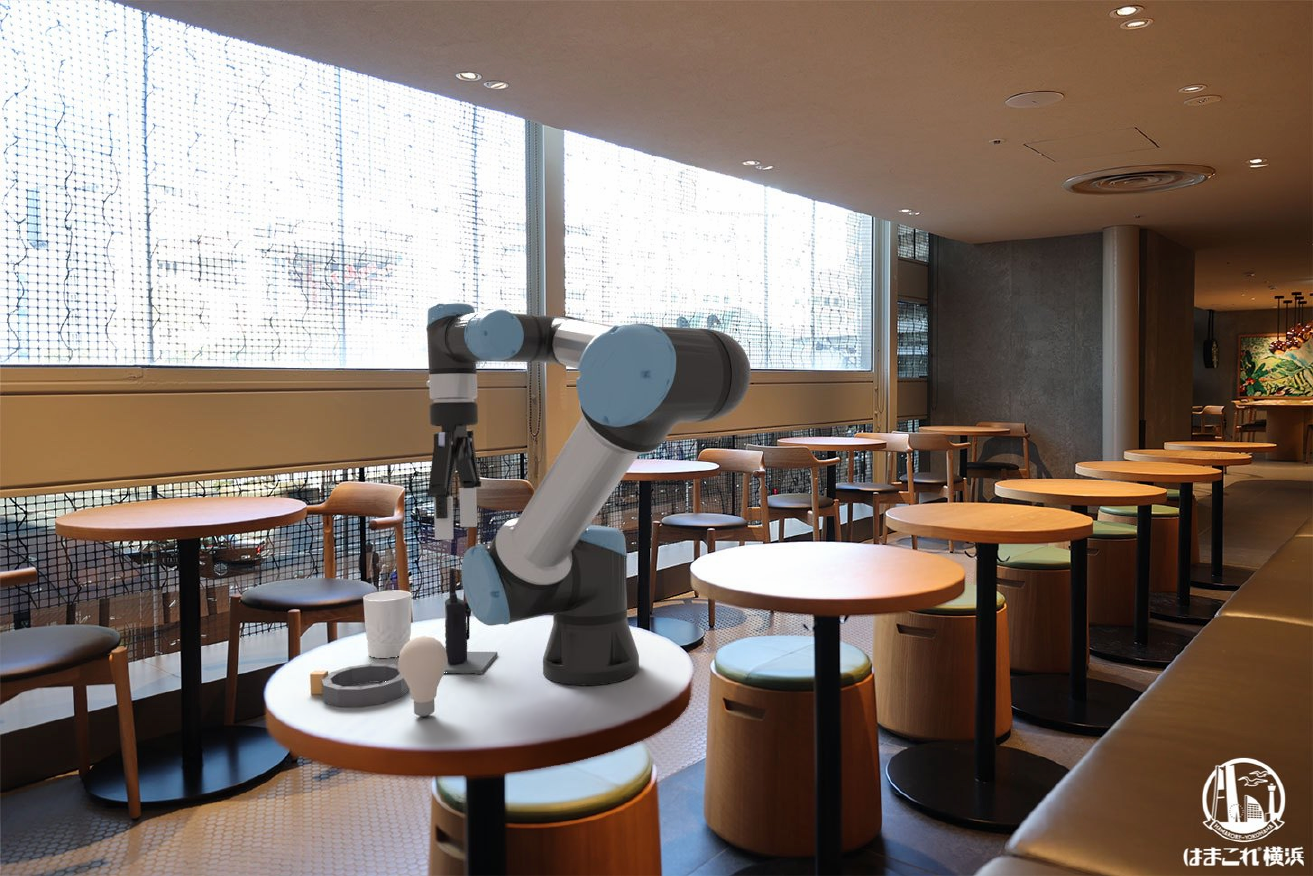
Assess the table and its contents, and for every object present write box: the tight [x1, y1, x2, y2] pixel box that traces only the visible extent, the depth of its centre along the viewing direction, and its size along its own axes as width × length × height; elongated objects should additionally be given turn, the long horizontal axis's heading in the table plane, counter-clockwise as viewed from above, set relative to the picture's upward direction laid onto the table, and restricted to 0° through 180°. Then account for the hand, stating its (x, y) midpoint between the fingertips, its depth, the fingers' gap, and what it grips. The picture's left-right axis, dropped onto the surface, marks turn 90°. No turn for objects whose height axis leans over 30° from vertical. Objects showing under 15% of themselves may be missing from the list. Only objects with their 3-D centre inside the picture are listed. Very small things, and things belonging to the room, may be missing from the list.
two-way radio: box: [444, 567, 472, 664], centre depth 142 cm, size 6×4×15 cm
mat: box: [445, 651, 498, 675], centre depth 142 cm, size 10×10×1 cm
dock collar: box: [309, 663, 410, 708], centre depth 129 cm, size 14×12×3 cm
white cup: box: [362, 589, 413, 659], centre depth 149 cm, size 8×8×10 cm
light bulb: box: [397, 635, 448, 718], centre depth 119 cm, size 7×7×11 cm
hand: (457, 532), depth 141 cm, fingers open, 13 cm apart
